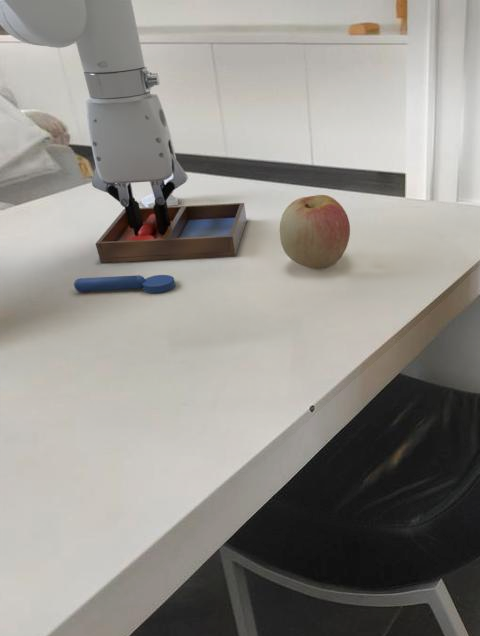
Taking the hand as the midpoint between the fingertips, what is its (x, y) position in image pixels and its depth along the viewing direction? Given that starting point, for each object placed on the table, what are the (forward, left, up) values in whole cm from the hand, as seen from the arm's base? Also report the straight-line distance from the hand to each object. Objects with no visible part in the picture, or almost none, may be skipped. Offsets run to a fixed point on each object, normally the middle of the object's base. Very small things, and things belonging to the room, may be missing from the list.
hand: (151, 231), depth 98 cm
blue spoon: (+1, -20, -1) cm, 20 cm away
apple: (+24, -15, -1) cm, 28 cm away
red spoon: (0, -2, 0) cm, 2 cm away
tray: (+4, -2, -1) cm, 4 cm away
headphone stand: (-2, +18, -1) cm, 18 cm away
